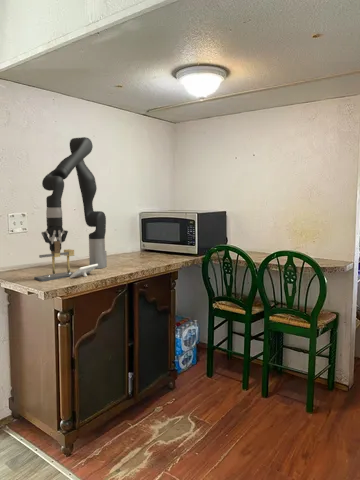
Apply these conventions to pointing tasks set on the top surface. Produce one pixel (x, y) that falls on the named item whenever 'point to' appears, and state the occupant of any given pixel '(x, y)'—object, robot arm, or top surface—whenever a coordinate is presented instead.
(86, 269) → the light switch
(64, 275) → the bolt plate
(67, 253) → the dividers frame
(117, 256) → the top surface
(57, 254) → the block
